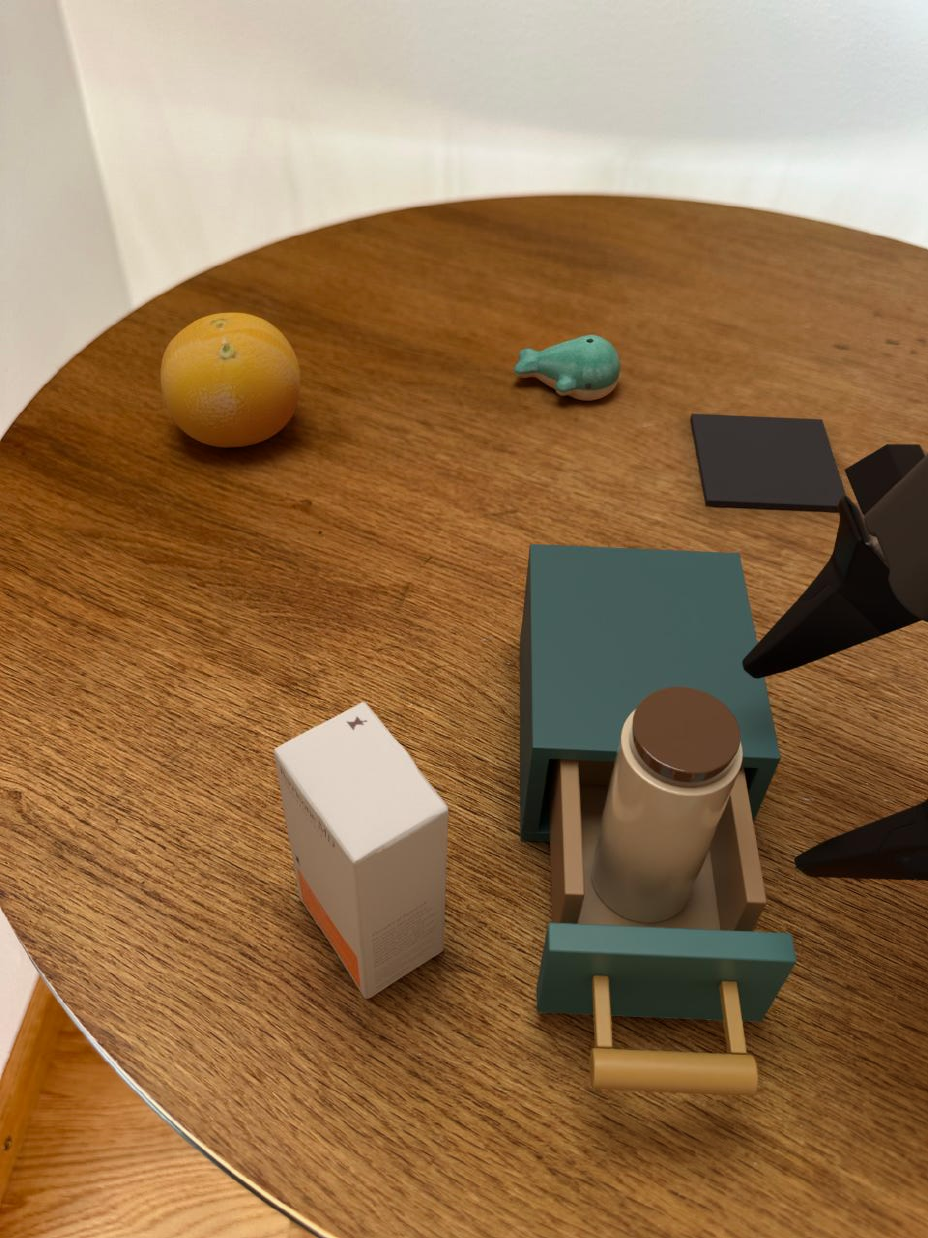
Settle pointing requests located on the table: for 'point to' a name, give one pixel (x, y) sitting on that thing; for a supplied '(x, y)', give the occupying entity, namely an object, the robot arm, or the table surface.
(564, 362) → the whale figurine
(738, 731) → the spice jar
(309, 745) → the cosmetic box
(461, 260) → the table surface
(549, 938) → the drawer
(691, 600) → the cabinet
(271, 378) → the fruit
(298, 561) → the table surface
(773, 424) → the mat
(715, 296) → the table surface
